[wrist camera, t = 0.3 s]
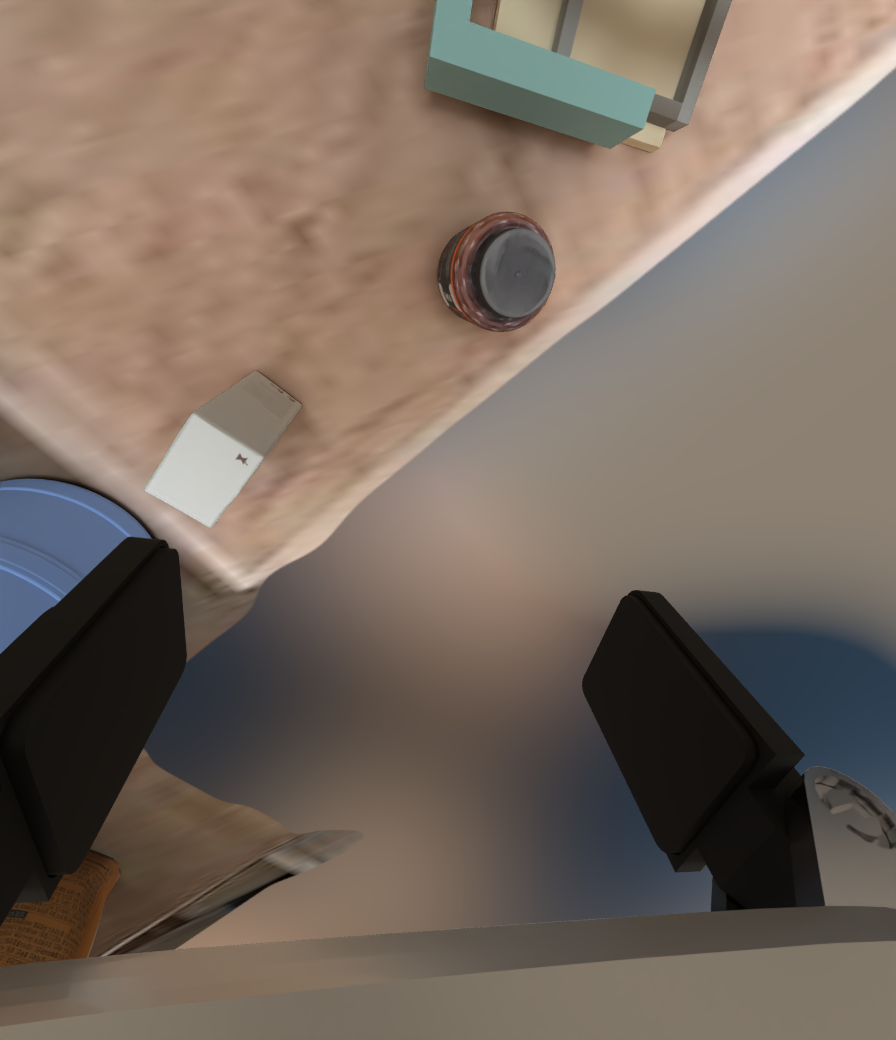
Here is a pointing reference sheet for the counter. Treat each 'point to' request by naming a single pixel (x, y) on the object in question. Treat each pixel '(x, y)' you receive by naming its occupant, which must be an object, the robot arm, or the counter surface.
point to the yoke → (530, 80)
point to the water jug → (51, 545)
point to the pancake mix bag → (60, 917)
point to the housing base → (629, 46)
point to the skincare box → (222, 448)
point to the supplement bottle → (497, 272)
